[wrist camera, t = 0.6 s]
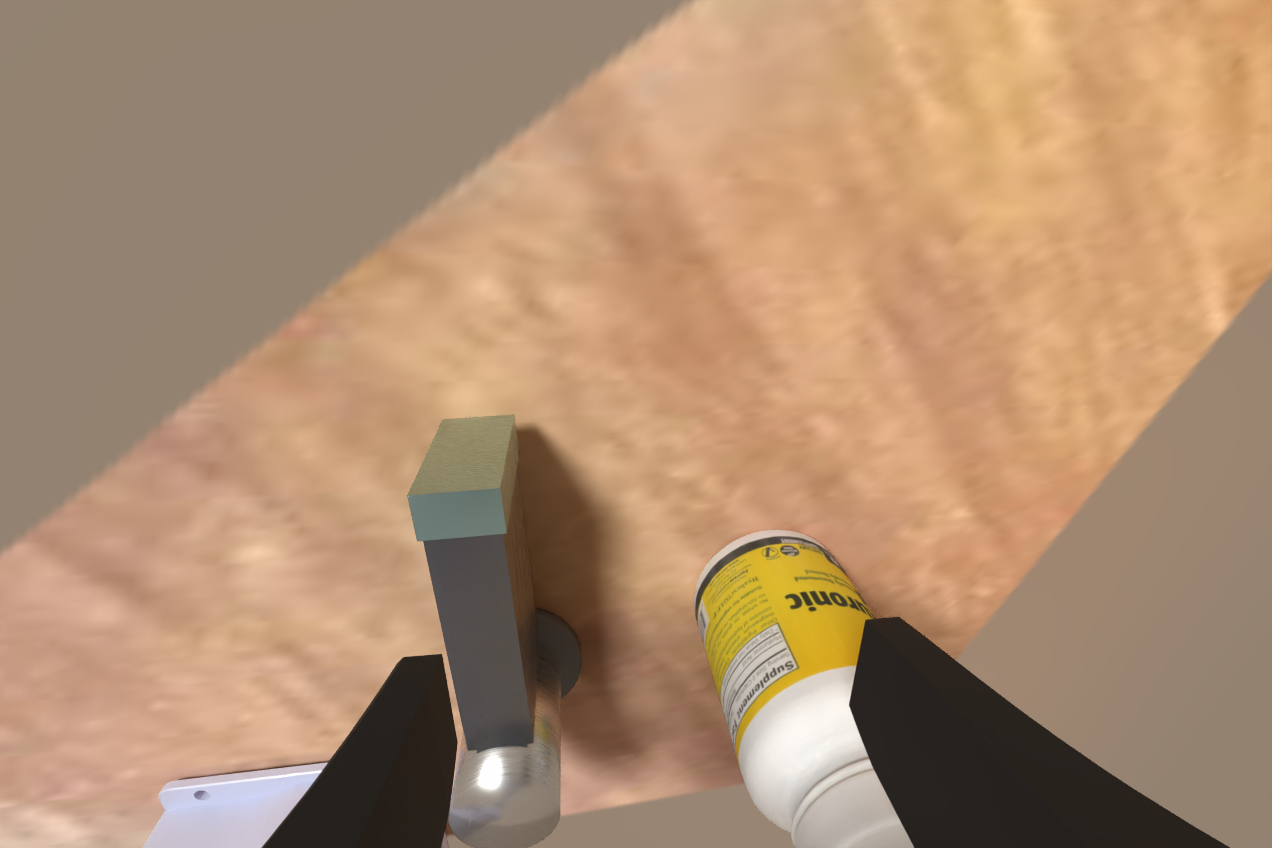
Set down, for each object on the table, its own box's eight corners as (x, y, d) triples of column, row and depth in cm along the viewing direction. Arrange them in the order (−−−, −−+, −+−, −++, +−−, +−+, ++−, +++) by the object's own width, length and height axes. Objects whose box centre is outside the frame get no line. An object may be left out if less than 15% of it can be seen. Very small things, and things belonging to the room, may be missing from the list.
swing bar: (564, 700, 22) (564, 844, 17) (480, 710, 21) (457, 858, 17) (531, 413, 17) (520, 505, 13) (424, 420, 17) (372, 517, 12)
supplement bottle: (866, 566, 22) (1072, 844, 13) (770, 663, 23) (897, 973, 14) (756, 496, 20) (908, 762, 11) (660, 606, 22) (727, 919, 13)
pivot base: (466, 705, 23) (464, 719, 22) (447, 613, 21) (444, 626, 20) (584, 692, 23) (584, 705, 22) (575, 601, 21) (576, 612, 21)
